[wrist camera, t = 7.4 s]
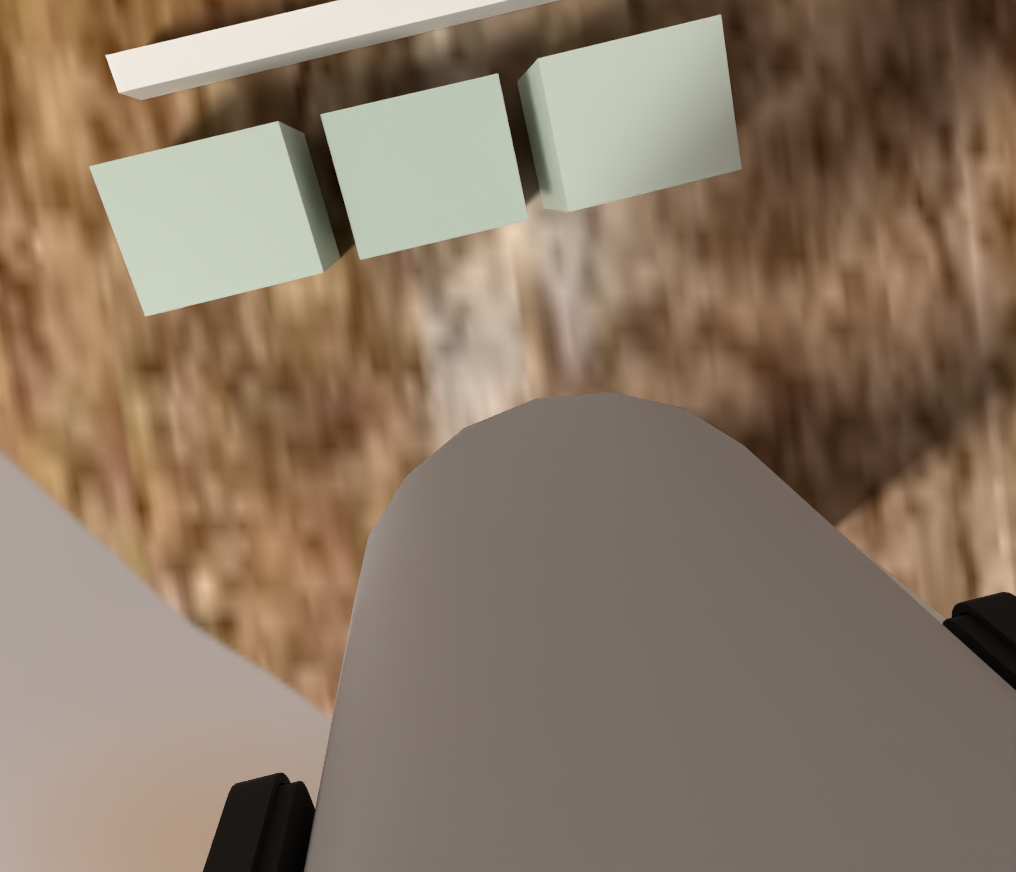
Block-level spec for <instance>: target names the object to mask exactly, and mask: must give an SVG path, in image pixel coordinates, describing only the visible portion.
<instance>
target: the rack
mask: <svg viewBox="0 0 1016 872" xmlns="http://www.w3.org/2000/svg"><path fill="white" fill-rule="evenodd" d="M555 1H559V0H337V1H333V2H329V3H325V4H320V5H316V6H312V7H308V8H304V9H299V10H295V11H291V12H287V13H282V14H278V15H274V16H270V17H265V18H261V19H257V20H253V21H249V22H244V23H240V24H236V25H232V26H227V27H223V28H219V29H215V30H211V31H206V32H202V33H198V34H194V35H189V36H185V37H181V38H177V39H173V40H168V41H164V42H160V43H156V44H151V45H147V46H143V47H139V48H135V49H130V50H126V51H122V52H118V53H113V54H109V55H106V58H107V61H108V64H109V67H110V69H111V72H112V75H113V78H114V81H115V84H116V86H117V89H118V92H119V93H121V94H124V95H127V96H130V97H134V98H137V99H140V100H144V99H148V98H153V97H157V96H161V95H165V94H169V93H174V92H178V91H182V90H186V89H190V88H195V87H199V86H203V85H207V84H211V83H216V82H220V81H224V80H228V79H232V78H237V77H241V76H245V75H249V74H253V73H257V72H262V71H266V70H270V69H274V68H278V67H283V66H287V65H291V64H295V63H299V62H304V61H308V60H312V59H316V58H320V57H325V56H329V55H333V54H337V53H341V52H345V51H350V50H354V49H358V48H362V47H366V46H371V45H375V44H379V43H383V42H387V41H392V40H396V39H400V38H404V37H408V36H413V35H417V34H421V33H425V32H429V31H433V30H438V29H442V28H446V27H450V26H454V25H459V24H463V23H467V22H471V21H475V20H480V19H484V18H488V17H492V16H496V15H501V14H505V13H509V12H513V11H517V10H522V9H526V8H530V7H534V6H538V5H542V4H547V3H551V2H555ZM841 534H842V533H841ZM847 539H848V538H847ZM848 540H849V539H848ZM849 541H850V540H849ZM850 542H851V541H850ZM851 543H852V542H851ZM853 544H854V543H853ZM854 545H855V544H854ZM855 546H856V545H855ZM856 547H857V546H856ZM857 548H858V549H859V550H860V551H861V552H862V553H864V554H865V555H866V556H867V557H868V558H869V559H870V560H871V561H872V562H874V563H875V564H876V565H877V566H878V567H879V568H880V569H881V570H882V571H884V572H885V573H886V574H887V575H888V576H889V577H890V578H891V579H892V580H894V581H895V582H896V583H897V584H898V585H899V586H900V587H901V588H902V589H904V590H905V591H906V592H907V593H908V594H909V595H910V596H911V597H912V598H913V599H915V600H916V601H917V602H918V603H919V604H920V605H921V606H922V607H923V608H925V609H926V610H927V611H928V612H929V613H930V614H931V615H932V616H933V617H935V618H936V619H937V620H938V621H939V622H940V623H941V624H942V623H943V621H945V620H946V619H945V618H944V617H942V616H941V615H940V614H939V613H938V612H936V611H935V610H934V609H933V608H931V607H930V606H929V605H928V604H927V603H925V602H924V601H923V600H922V599H921V598H919V597H918V596H917V595H916V594H914V593H913V592H912V591H911V590H910V589H908V588H907V587H906V586H905V585H904V584H902V583H901V582H900V581H899V580H897V579H896V578H895V577H894V576H893V575H891V574H890V573H889V572H888V571H887V570H885V569H884V568H883V567H882V566H880V565H879V564H878V563H877V562H876V561H874V560H873V559H872V558H871V557H869V556H868V555H867V554H866V553H865V552H863V551H862V550H861V549H860V548H859V547H857Z"/></svg>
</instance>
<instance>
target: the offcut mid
mask: <svg viewBox="0 0 1016 872" xmlns="http://www.w3.org/2000/svg"><path fill="white" fill-rule="evenodd" d="M320 116H321V119H322V123H323V127H324V130H325V134H326V138H327V141H328V145H329V149H330V152H331V156H332V159H333V163H334V167H335V170H336V174H337V178H338V181H339V185H340V189H341V192H342V196H343V199H344V203H345V207H346V210H347V214H348V218H349V221H350V225H351V229H352V232H353V236H354V240H355V243H356V247H357V250H358V254H359V258H360V260H362V259H366V258H371V257H375V256H379V255H383V254H387V253H392V252H396V251H400V250H404V249H409V248H413V247H417V246H421V245H426V244H430V243H434V242H438V241H442V240H447V239H451V238H455V237H459V236H464V235H468V234H472V233H476V232H481V231H485V230H489V229H493V228H497V227H502V226H506V225H510V224H514V223H519V222H523V221H527V220H528V215H527V210H526V205H525V200H524V196H523V191H522V186H521V181H520V176H519V172H518V167H517V162H516V157H515V152H514V147H513V143H512V138H511V133H510V128H509V123H508V119H507V114H506V109H505V104H504V99H503V95H502V90H501V85H500V80H499V75H498V73H497V74H493V75H488V76H484V77H480V78H475V79H471V80H467V81H462V82H458V83H454V84H449V85H445V86H441V87H436V88H432V89H428V90H423V91H419V92H415V93H410V94H406V95H402V96H397V97H393V98H389V99H384V100H380V101H376V102H371V103H367V104H363V105H358V106H354V107H350V108H345V109H341V110H337V111H332V112H328V113H324V114H320Z"/></svg>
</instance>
